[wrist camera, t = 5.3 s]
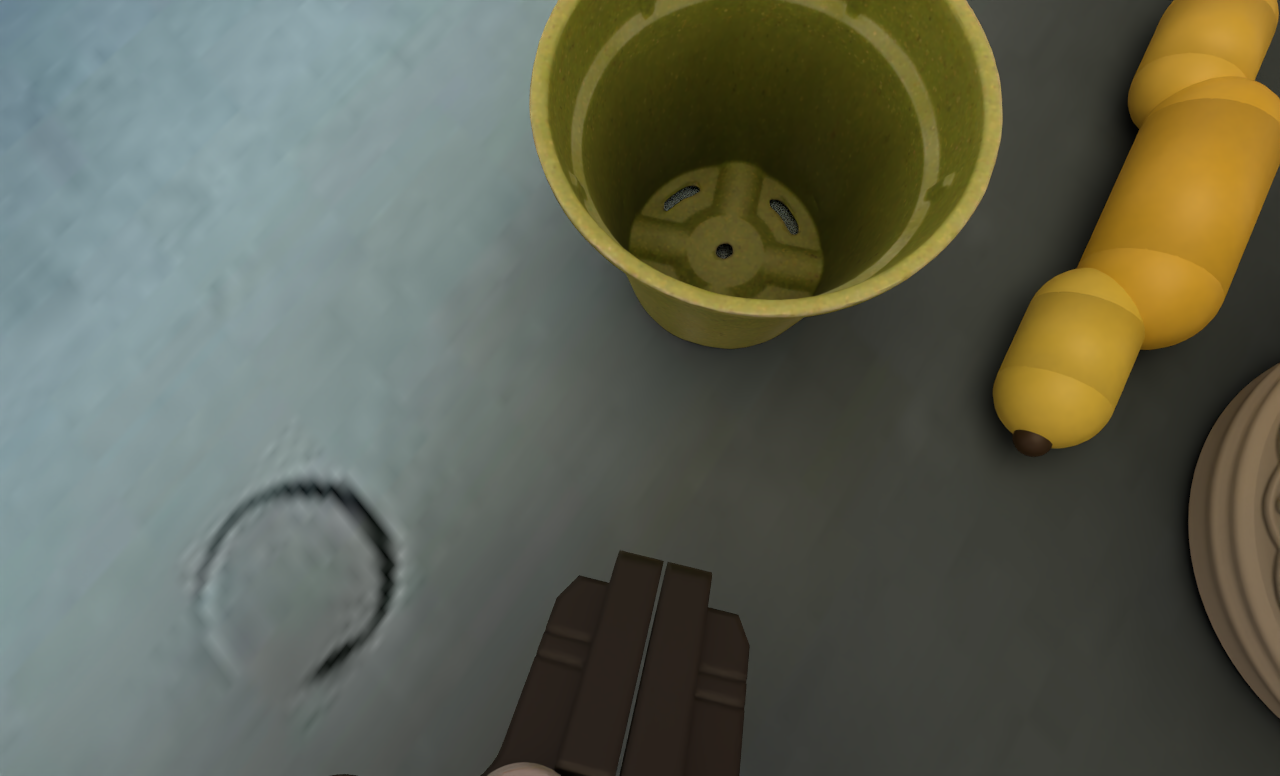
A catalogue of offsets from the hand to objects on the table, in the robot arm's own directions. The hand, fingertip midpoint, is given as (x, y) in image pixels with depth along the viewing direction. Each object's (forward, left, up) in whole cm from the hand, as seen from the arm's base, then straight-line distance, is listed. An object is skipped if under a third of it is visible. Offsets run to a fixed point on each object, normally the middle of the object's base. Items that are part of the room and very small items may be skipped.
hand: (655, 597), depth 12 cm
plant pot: (-3, +10, -10) cm, 14 cm away
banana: (+8, +16, -10) cm, 20 cm away
